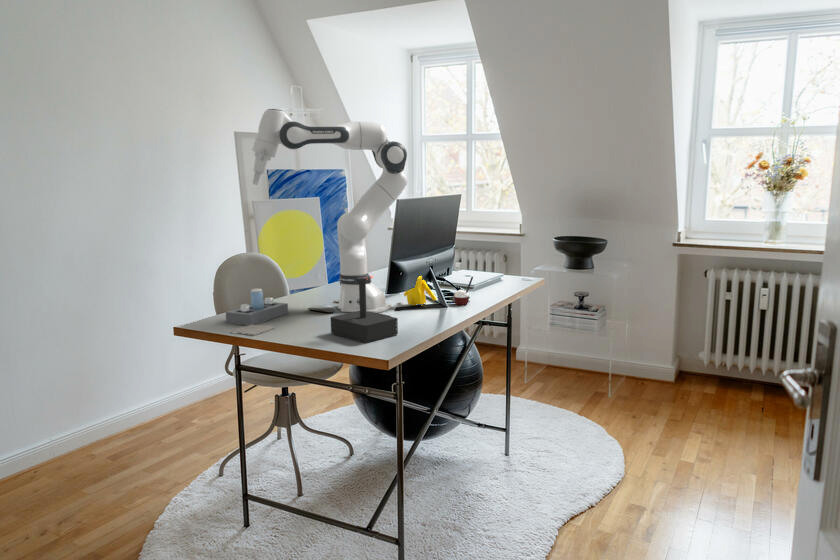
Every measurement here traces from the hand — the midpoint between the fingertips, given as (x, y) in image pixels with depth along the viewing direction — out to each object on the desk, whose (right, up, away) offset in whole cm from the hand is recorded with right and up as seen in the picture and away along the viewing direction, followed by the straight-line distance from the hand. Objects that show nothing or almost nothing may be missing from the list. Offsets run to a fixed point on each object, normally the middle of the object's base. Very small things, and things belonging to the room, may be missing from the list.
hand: (254, 184), depth 246 cm
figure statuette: (+63, -48, +20) cm, 82 cm away
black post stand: (+45, -56, -26) cm, 77 cm away
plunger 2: (+4, -49, +7) cm, 49 cm away
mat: (+4, -55, -19) cm, 59 cm away
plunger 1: (-2, -51, -6) cm, 51 cm away
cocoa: (+82, -48, +20) cm, 97 cm away
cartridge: (+1, -52, +1) cm, 52 cm away
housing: (+1, -52, +1) cm, 52 cm away
